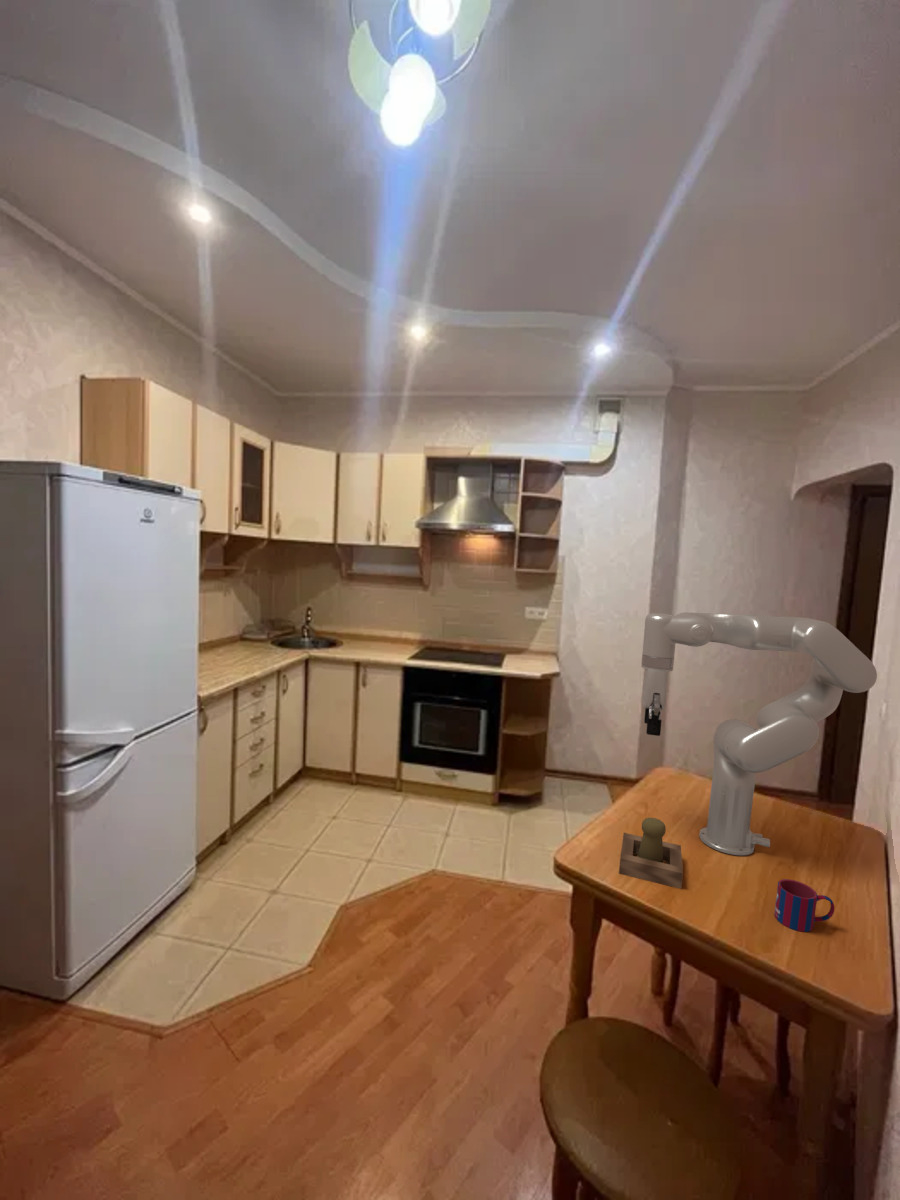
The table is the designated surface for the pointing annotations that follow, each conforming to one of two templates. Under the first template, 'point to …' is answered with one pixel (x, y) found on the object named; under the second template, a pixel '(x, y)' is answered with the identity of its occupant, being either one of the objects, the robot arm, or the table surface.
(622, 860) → the walnut holder
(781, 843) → the table surface
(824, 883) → the table surface
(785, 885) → the mug
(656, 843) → the olive knobbed peg
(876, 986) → the table surface
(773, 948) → the table surface
